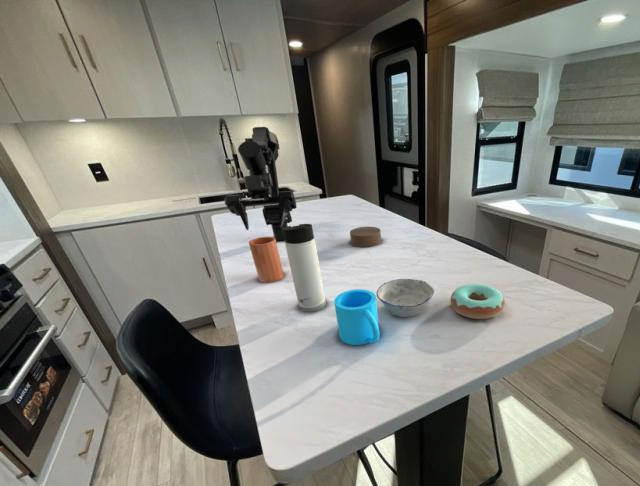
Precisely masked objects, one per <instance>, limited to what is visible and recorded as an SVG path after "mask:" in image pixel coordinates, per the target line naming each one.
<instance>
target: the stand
mask: <svg viewBox="0 0 640 486" xmlns="http://www.w3.org/2000/svg"><path fill="white" fill-rule="evenodd" d="M381 231H382V230H381V228H379V227H376V226H361V227H360V226H359V227H356V228H352V229H351V230H350V231H349V237H350V244H351V245H352V246H354V247H357V248H358V247H359V248H368V247H369V248H370V247H375V246H377V245H379V244H381V243H382V232H381Z"/></svg>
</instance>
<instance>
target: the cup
mask: <svg viewBox="0 0 640 486" xmlns="http://www.w3.org/2000/svg"><path fill="white" fill-rule="evenodd" d="M248 245H249V249H250V253H251V256H252V261H253V263H254V267H255V271H256V275H257V278H258V280H259V281H260V282H261V283H273V282H277V281H279V280H281V279H283V278H284V276H285V275H284V268H283V265H282V261H281V257H280V253H279V248H278V244H277V241H276V239H275V238H274V236H260V237H256V238H253V239H251V240H249V241H248Z"/></svg>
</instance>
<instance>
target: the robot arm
mask: <svg viewBox="0 0 640 486" xmlns="http://www.w3.org/2000/svg"><path fill="white" fill-rule="evenodd" d="M279 150H280V143H279V139H278V136H277V134H276V133H274V132H272V131H271V130H270V129H269V128H268V127H266V126H254V127H252V134H251V137H249V138H247V137H246V138H244V141H243V142H241V143H240V145H238V147H237V151H238V154H239V155H240V158H241V160H242V163H243V165H244V166H245V168H246V170H248V173H249V174H248V175H245V176H243V180H244V185H245V186H244V187H245V190H247V194H248V196H249V197H250V198H242V196H241V194H233V195H231V194H230V195H226V196H225V197H224V204H225V206H226V207H227V209H228V211H229V212H230V214H232V215H235V216H238V217H240V219H241V221H242V223H243V226H244V228H245V229H246V231H249V228H250V225H249V218H248V213H247V207H257V206H260V207H263V208H262V216H263V218H264V222H265V225H266V226H271V229H272V234H273V237H274V238H275V239H276V242H285V240H284V235H283V231H282V228H284V227H288V226H289V225H288V224H291V223H292V222H293V218H292V214H291V212H292V211H293V210H296V209H297V201H296V196H295V193H294V192H293V191H292V190H282V191H280V188H279V180H278V173H277V172H278V171H277V167H276V166H277V165H276V161H277V160H278V158H279V155H280V153H279Z"/></svg>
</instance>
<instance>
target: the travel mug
mask: <svg viewBox="0 0 640 486" xmlns="http://www.w3.org/2000/svg"><path fill="white" fill-rule="evenodd" d="M282 231H283V235H284V245H285V250H286V254H287V260H288V264H289V268H290V273H291V277H292V281H293V285H294V291H295V293H296V300H297V304H298V308H299V309H300V310H301V311H302V312H307V313H310V312H311V313H313V312H316V311H319V310H322V309H323V308H324V307H325V306H326V298H325V291H324V284H323V278H322V274H321V273H322V272H321V268H320V263H319V257H318V256H319V255H318V251H317V244H316V240H315V236H314V229H313V225H312V223H301V224H300V223H299V224H298V225H293V226H291V225H288V227H284V228H282Z"/></svg>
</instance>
